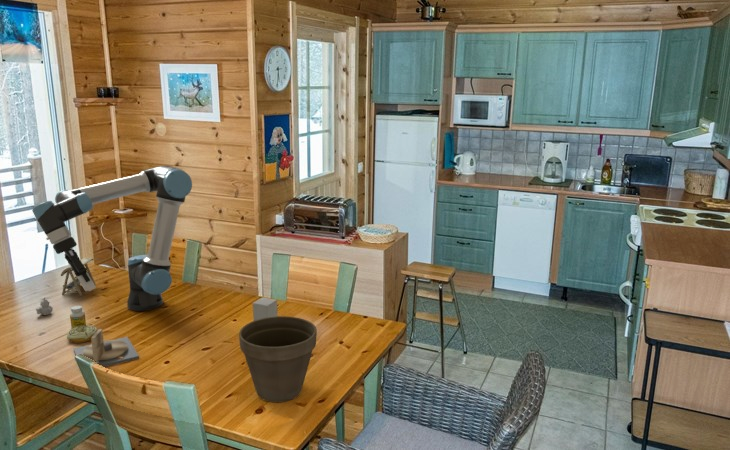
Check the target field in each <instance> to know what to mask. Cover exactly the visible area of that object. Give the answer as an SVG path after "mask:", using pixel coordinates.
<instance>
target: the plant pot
mask: <svg viewBox="0 0 730 450" xmlns="http://www.w3.org/2000/svg"><path fill="white" fill-rule="evenodd" d="M317 334H318V332H317V327H316V325H315V324H314V323H312V322H311V321H310V320H307V319H303V318H301V317H297V316H296V317H295V316H285V315H281V316H280V315H279V316H278V315H277V316H275V317H267V318H262V319H258V320H255V321H253V320H252V321H250V322H248V323H246V324H245V325H243V327H241V329H240V330H239V332H238V339H239V348H240V351H241V353H242V354H243V355H244V358H245V362H246V364H247V367H248V370H249V373H250V377H251V380H252V384H253V387H254V388H255V391H256V392H255V393H256V395H257V396H258V397H259V398H260V399H262V400H264V401H266V402H270V403H282V402H287V401H291V400H293V399H295V398H297V397H298V396H299V395H300V394H301V392H302V389H303V386H304V383H305V379H306V375H307V371H308V369H309V364H310V361H311V358H312V352H313V350H314V349H315V348H316V346H317V336H318V335H317Z"/></svg>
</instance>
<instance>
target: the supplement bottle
mask: <svg viewBox="0 0 730 450" xmlns="http://www.w3.org/2000/svg"><path fill="white" fill-rule="evenodd" d="M70 311H71V312H70V313H69V319H70V326H71V329H72V328H75V327H78V326H85V325H86V326H87V322H86V321H87V320H86V314H85V311H84V310H83V306H82V305H74V306H71V308H70Z"/></svg>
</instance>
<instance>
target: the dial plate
mask: <svg viewBox="0 0 730 450" xmlns="http://www.w3.org/2000/svg"><path fill="white" fill-rule="evenodd" d="M114 340H120V341H124V342H125V343H127V346H128V349H127V351H126V352H125V353H124V354H123V355H121V356H119V357H116V358H113V359H110V360H104V361H95V362H96V363H97V364H99V365H102V366H104V367H108V366H113V365H116V364H122V363H125V362H131V361H134V360H138V359H140V355H139V353H138V352H137V350H136V348H135V347H134V346H133V344H132V342H131V341H130V339H129V338H128V336H124V337H120V338H119V337H118V338H115V339H114ZM90 345H92V343H91V344H88V345H87V344H86V345H82V346H77V347H74V348H73V352H74V355H75V356H76V355H77V354H82V355H83V351H84V349H85V348H86V347H88V346H90ZM104 367H103V368H104Z"/></svg>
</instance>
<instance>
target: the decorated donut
mask: <svg viewBox="0 0 730 450" xmlns="http://www.w3.org/2000/svg"><path fill="white" fill-rule="evenodd" d="M97 331H98V328H97V327H96V326H94V325H89V324H88V325H87V324H86V325H85V326H78V327H75V328H71V329H69V330H68V332H67V333H66V339H67V340H68V341H69V342H71V343H73V344H83V343H86V342H89V340H90V341H91V337H92V336H93V335H94V334H95V333H96V332H97Z"/></svg>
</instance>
